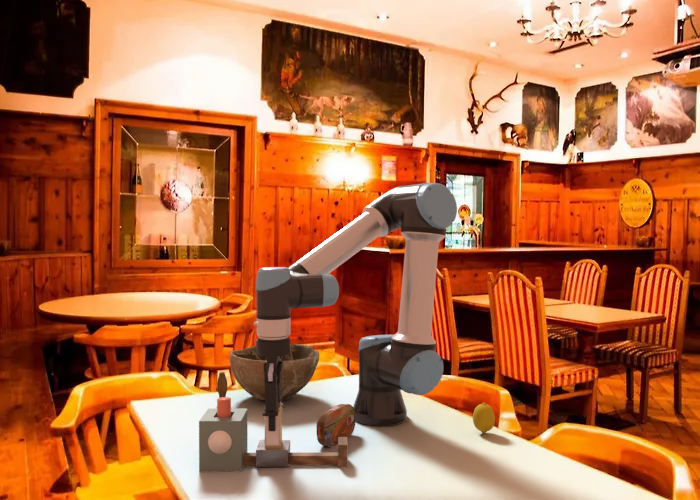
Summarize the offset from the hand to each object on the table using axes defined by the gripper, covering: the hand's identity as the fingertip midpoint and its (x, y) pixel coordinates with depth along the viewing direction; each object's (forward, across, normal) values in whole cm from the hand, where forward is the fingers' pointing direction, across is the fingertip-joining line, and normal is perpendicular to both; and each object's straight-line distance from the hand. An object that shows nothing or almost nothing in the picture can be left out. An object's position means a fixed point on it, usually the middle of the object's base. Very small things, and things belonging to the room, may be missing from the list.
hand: (273, 440), depth 132 cm
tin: (+5, -14, +14) cm, 21 cm away
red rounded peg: (-1, 0, -11) cm, 11 cm away
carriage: (+5, 0, 0) cm, 5 cm away
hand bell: (+5, -19, -15) cm, 25 cm away
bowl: (+5, -51, -5) cm, 51 cm away
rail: (+5, 0, +4) cm, 6 cm away
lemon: (+5, -19, +52) cm, 56 cm away
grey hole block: (+5, 0, -11) cm, 12 cm away
